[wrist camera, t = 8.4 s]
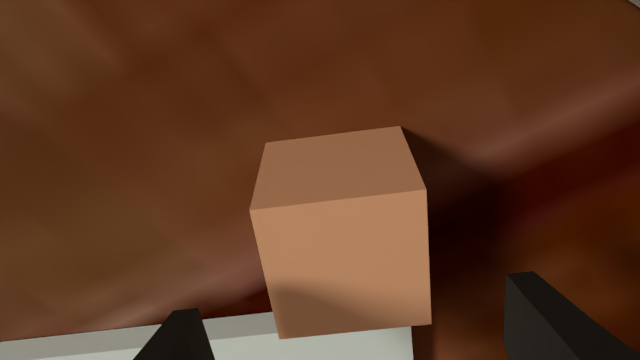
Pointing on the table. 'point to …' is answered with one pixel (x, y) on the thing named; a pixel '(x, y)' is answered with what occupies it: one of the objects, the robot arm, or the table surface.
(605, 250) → the table surface
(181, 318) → the robot arm
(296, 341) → the board
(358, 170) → the tan cube
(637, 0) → the small box
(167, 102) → the table surface
